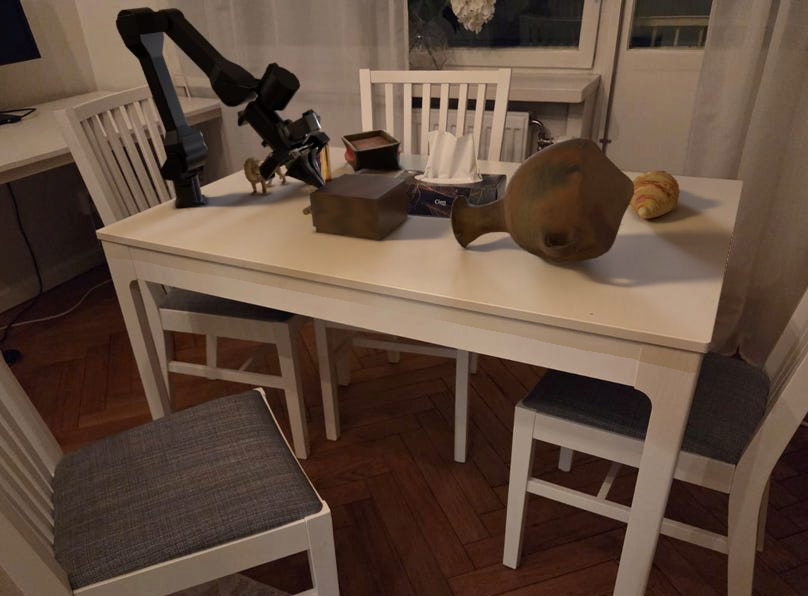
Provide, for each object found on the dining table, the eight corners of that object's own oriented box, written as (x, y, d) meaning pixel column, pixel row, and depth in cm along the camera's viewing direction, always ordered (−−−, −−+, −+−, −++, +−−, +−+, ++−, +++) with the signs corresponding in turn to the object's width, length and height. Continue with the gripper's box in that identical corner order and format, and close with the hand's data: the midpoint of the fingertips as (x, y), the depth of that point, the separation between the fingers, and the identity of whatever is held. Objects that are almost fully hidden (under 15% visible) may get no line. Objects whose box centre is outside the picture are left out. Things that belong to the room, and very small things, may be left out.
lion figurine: (263, 200, 143) (257, 160, 138) (243, 199, 145) (236, 159, 140) (290, 181, 155) (285, 143, 150) (271, 180, 156) (265, 143, 152)
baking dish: (350, 185, 156) (351, 146, 149) (338, 157, 169) (339, 119, 163) (406, 183, 159) (409, 144, 152) (390, 155, 172) (393, 118, 165)
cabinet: (316, 231, 124) (311, 192, 120) (347, 210, 134) (344, 173, 130) (378, 240, 119) (376, 199, 115) (407, 218, 129) (406, 179, 124)
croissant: (657, 242, 120) (686, 208, 115) (612, 213, 121) (639, 179, 115) (665, 204, 136) (691, 173, 131) (625, 179, 137) (649, 147, 131)
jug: (644, 251, 108) (483, 252, 124) (648, 131, 103) (479, 148, 119) (614, 273, 92) (435, 270, 108) (617, 132, 86) (427, 151, 103)
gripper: (262, 107, 112) (321, 175, 114) (317, 89, 126) (369, 149, 128) (235, 149, 120) (290, 212, 121) (289, 127, 134) (338, 184, 135)
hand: (324, 187), depth 126 cm, fingers closed, pressing on drawer
